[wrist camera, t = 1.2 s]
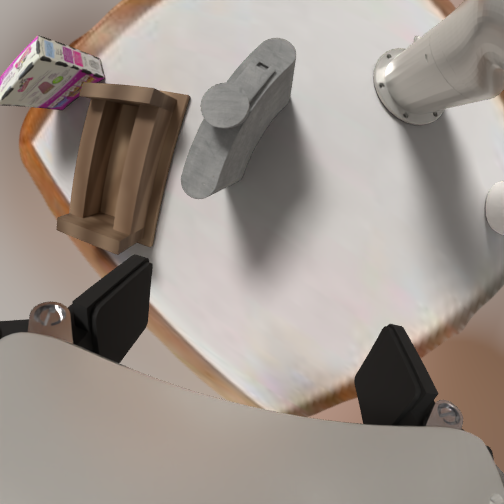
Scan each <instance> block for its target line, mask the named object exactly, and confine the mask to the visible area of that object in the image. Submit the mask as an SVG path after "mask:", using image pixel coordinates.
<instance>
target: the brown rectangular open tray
mask: <svg viewBox="0 0 504 504" xmlns="http://www.w3.org/2000/svg"><path fill="white" fill-rule="evenodd" d="M79 96H82V97H87V98H91V101H90V104H89V108H88V111H87V115H86V119H85V123H84V127H83V132H82V136H81V141H80V145H79V150H78V156H77V161H76V167H75V173H74V179H73V186H72V194H71V203H70V213H69V214H66V215H63V216H60V217H58V218H57V230H58V231H60V232H63V233H65V234H67V235H70V236H72V237H74V238H77V239H79V240H82V241H84V242H87V243H89V244H92V245H94V246H97V247H99V248H102V249H104V250H107V251H109V252H112V253H114V254H117V255H118V254H120V253H121V252H123V251H125V250H126V249H128V248H129V247H131V246H132V245H134V244H135V243H139V244H142V245H145V246H148V247H151V246H153V241H154V236H155V231H156V225H157V221H158V216H159V211H160V206H161V202H162V197H163V193H164V188H165V184H166V180H167V176H168V172H169V168H170V164H171V160H172V156H173V153H174V149H175V145H176V142H177V138H178V135H179V131H180V128H181V125H182V121H183V118H184V115H185V111H186V108H187V105H188V102H189V99H190V96H189V95H184V94H178V93H172V92H166V91H159V90H157V89H154V88H148V87H139V86H130V85H119V84H105V83H83V84H82V88H81V91H80V94H79Z"/></svg>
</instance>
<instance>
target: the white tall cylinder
mask: <svg viewBox="0 0 504 504" xmlns="http://www.w3.org/2000/svg"><path fill="white" fill-rule="evenodd" d="M485 208H486V217H487V221H488V223H489V225H490V227H491V228H492V229H493V230H494V231H495V232H497V233H499V234H501V235H503V236H504V181H500V182H498V183H496V184H494V185H493V187H492V188H491V189H490V191H489V193H488V196H487V199H486V207H485Z"/></svg>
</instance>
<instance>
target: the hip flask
mask: <svg viewBox="0 0 504 504" xmlns="http://www.w3.org/2000/svg"><path fill="white" fill-rule="evenodd" d="M295 60H296V50H295V48H294V46H293V45H292V44H291V43H290V42H288V41H287V40H284V39H281V38H271V39H268V40H266V41H264V42H263V43H262V44H261V45H259V46H258V47H257V48H256V49H255V50H254V51H253V52H252V53H251V54H250V55H249V56H248V57H247V58H246V59H245V60H244V61H243V62H242V64H241V65H240V66H239V67H238V68H237V69H236V71H235V72H234V73H233V74H232V76H231V77H230V78H229V79H228V81H227V82H226V83H220V84H216V85H215V86H213V87H211V88H210V89H208V91H207V92H206V93H205V95H204V96H203V99H202V101H201V112H202V115H203V117H204V120H203V121H202V123H201V125H200V127H199V130H198V132H197V134H196V136H195V138H194V141H193V143H192V146H191V148H190V151H189V154H188V156H187V159H186V162H185V165H184V169H183V172H182V176H181V184H182V188H183V190H184V191H185V193H186V194H187V195H189V196H190V197H192V198H195V199H203V198H206V197H208V196H210V195H212V194H214V193H216V192H218V191H220V190H222V189H224V188H226V187H228V186H230V185H232V184H234V183H236V182H238V181H240V180H241V179H242V177H243V175H244V172H245V169H246V166H247V164H248V161H249V159H250V157H251V155H252V153H253V151H254V149H255V147H256V145H257V143H258V141H259V140H260V138H261V136H262V135H263V133H264V132H265V130H266V129H267V127H268V126H269V124H270V123H271V122H272V120H273V119H274V118H275V117H276V115H277V114H278V113H279V112H280V111H281V110H282V109H283V108H284V107H285V106H286V105H287V104H288V102H289V100H290V95H291V88H292V81H293V74H294V67H295Z"/></svg>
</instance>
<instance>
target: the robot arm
mask: <svg viewBox="0 0 504 504" xmlns="http://www.w3.org/2000/svg"><path fill="white" fill-rule="evenodd" d="M387 57H388V58H387ZM373 79H374V85H375V88H376V91H377V94H378V96H379V98H380V100H381V101H382V103H383V104H384V105H385V107H386V108H387V109H388V110H389V111H390V112H391V113H392V114H393V115H395V116H396V117H397V118H399V119H401V120H402V121H404V122H407V123H410V124H414V125H424V124H429V123H431V122H434V121H435V120H437V119H438V118H439V117H440V116H441V114H442V113H443V111H444V109H447V108H451V107H456V106H460V105H465V104H469V103H474V102H479V101H483V100H488V99H491V98H494V97H496V96H497V95H499V94H500V93H501V92H502V91H503V89H504V0H464V1H463V2H462V3H461V4H460V5H459V6H458V7H457V8H456V9H455V10H454V11H453V12H452V13H451V14H450V15H448V16H447V17H446V18H445V19H444V20H442V21H441V22H440V23H438V24H437V25H436V26H434V27H433V28H432V29H431V30H429V31H428V32H427V33H425V34H424V35H423V36H422V37H419V36H415V37H414V43H413V44H412V45H410V46H409V47H408V48H407V49H405V48H397V49H392V50H389V51H387V52H386V53H384V54H383V55H382V56H381V57H380V58H379V59H378V61H377V63H376V65H375V68H374V76H373ZM379 85H380V86H381V88H380V87H379ZM433 114H434V115H433ZM403 115H405V117H404V116H403ZM151 276H152V264H151V263H149V259H148V258H145V257H142V256H138V255H133V256H131V257H130V258H129V259H127V260H126V261H125V262H123V263H122V264H120V265H119V266H118V267H116V268H115V269H114V270H112V271H111V272H110V273H108V274H107V275H106V276H104V277H103V278H102V279H101V280H99V281H98V282H97V283H95V284H94V285H93V286H91V287H90V288H89V289H88V290H86V291H85V292H84V293H83V294H81V295H80V296H79V297H78V298H76V299H75V300H74V301H73V304H72V305H70V306H69V307H68V308H67V307H66V306H65V305H63V304H61V303H58V302H43V303H41V304H38V305H37V306H35V307H34V308H33V309H32V310H31V312H30V315H29V316H30V317H29V319H28V320H14V321H0V504H504V474H503V472H502V471H501V470H500V469H499V468H498V467H497V465H495V463H494V459H493V455H492V454H493V453H492V450H491V449H490V448H489V447H488V446H486V445H485V444H484V443H483V441H482V440H481V439H479V438H478V437H477V436H475V435H473V434H471V433H469V432H466V431H464V430H463V429H461V428H462V424H463V416H462V414H461V412H460V410H459V409H458V408H457V406H455V405H454V404H452V403H451V402H449V401H446V400H439V401H437V402H436V403H435V402H434V399H435V397H436V396H437V395H438V392H437V390H436V388H435V386H434V384H433V382H432V380H431V378H430V376H429V374H428V372H427V370H426V368H425V366H424V364H423V363H422V360H421V359H420V357H419V355H418V353H417V351H416V349H415V347H414V346H413V344H412V342H411V340H410V338H409V337H408V335H407V333H406V331H405V330H404V328H403V327H402V326H398V325H393V324H389V325H388V326H387V327H386V326H385V327H384V328H383V329H382V331H381V333H380V334H379V336H378V338H377V340H376V342H375V343H374V345H373V347H372V349H371V351H370V352H369V354H368V356H367V357H366V359H365V361H364V362H363V364H362V366H361V367H360V369H359V371H358V372H357V374H356V376H355V381H354V382H355V387H356V392H357V396H358V400H359V405H360V410H361V414H362V420H363V424H358V423H347V422H338V421H329V420H321V419H314V418H308V417H302V416H296V415H290V414H284V413H279V412H274V411H269V410H264V409H260V408H255V407H251V406H247V405H242V404H238V403H234V402H230V401H227V400H223V399H219V398H216V397H212V396H208V395H205V394H202V393H198V392H195V391H192V390H189V389H186V388H182V387H180V386H177V385H174V384H171V383H168V382H165V381H162V380H159V379H157V378H154V377H151V376H148V375H146V374H143V373H141V372H138V371H136V370H133V369H131V368H129V367H126V366H124V365H121V364H119V363H120V362H121V360H122V359H123V358H124V356H125V355H126V354H127V352H128V350H130V348H131V347H132V346H133V344H134V343H135V341H136V340H137V339H138V337H139V336H140V335H141V333H142V332H143V331H144V329H145V328H146V326H147V323H148V312H149V299H150V287H151Z"/></svg>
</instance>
